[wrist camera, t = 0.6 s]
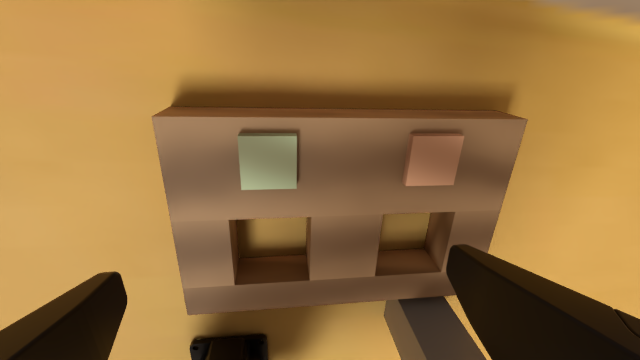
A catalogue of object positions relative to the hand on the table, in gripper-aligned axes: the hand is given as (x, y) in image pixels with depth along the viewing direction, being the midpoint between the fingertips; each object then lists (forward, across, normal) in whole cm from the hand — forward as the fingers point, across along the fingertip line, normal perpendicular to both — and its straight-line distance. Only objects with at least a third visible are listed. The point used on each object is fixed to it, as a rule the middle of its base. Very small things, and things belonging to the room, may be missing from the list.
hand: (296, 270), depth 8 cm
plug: (+14, -11, +15) cm, 23 cm away
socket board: (+13, -4, +5) cm, 15 cm away
